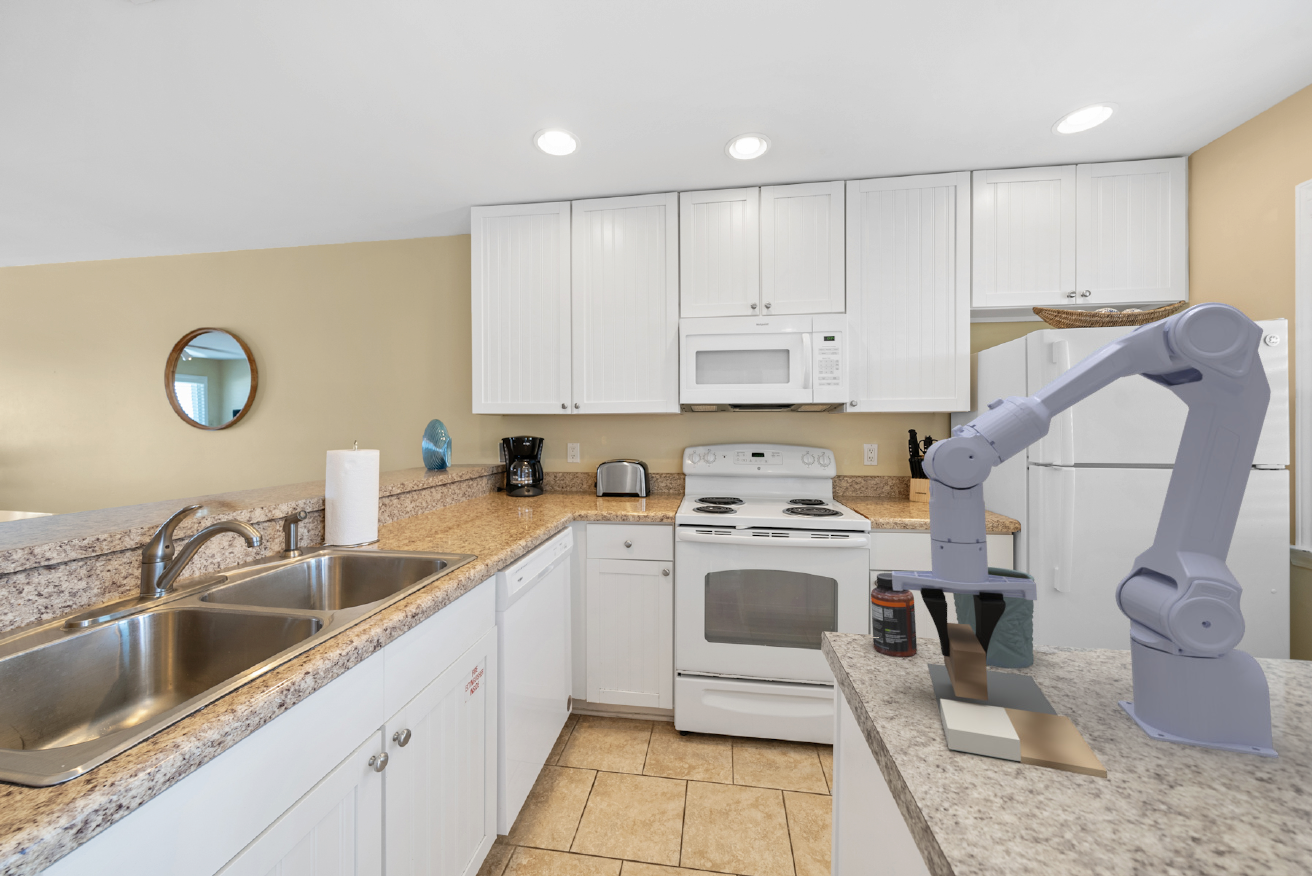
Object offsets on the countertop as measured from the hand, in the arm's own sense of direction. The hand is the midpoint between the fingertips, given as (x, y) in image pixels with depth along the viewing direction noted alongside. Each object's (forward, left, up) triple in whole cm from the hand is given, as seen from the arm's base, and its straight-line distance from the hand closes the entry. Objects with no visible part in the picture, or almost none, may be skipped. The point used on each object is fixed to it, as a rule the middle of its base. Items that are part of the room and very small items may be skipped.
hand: (963, 655), depth 60 cm
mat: (-3, 0, -6) cm, 7 cm away
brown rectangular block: (0, 0, -3) cm, 3 cm away
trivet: (-6, +6, -6) cm, 10 cm away
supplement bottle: (+7, -15, -6) cm, 18 cm away
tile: (0, +5, -4) cm, 6 cm away
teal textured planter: (-6, -17, -6) cm, 19 cm away
